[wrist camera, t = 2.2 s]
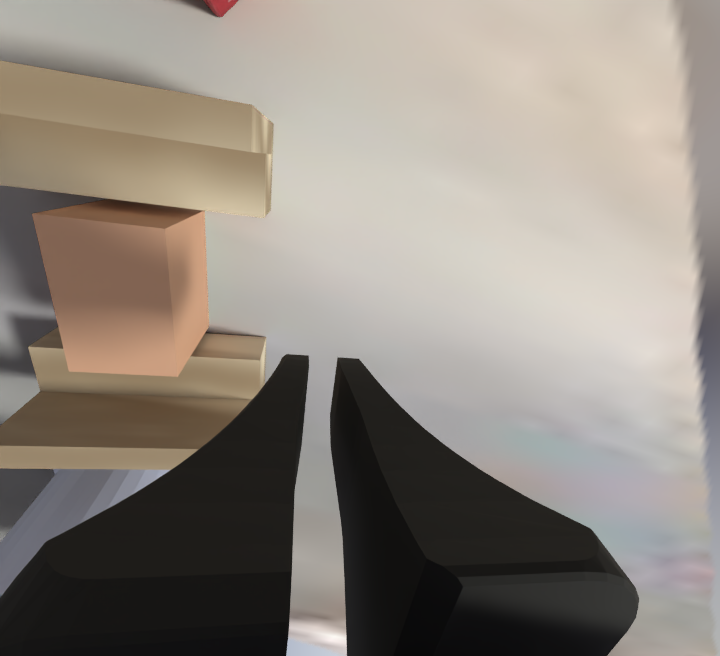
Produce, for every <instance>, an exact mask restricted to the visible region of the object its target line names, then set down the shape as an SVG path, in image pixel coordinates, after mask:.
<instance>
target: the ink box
mask: <svg viewBox="0 0 720 656" xmlns="http://www.w3.org/2000/svg"><path fill="white" fill-rule="evenodd" d="M237 1H238V0H204V2H205V3H206V4H207V6H208V7H209V8H210V9H211V10H212V12H213V13H214V14H215V15H216V16H217V17H223V15H224V14H225V13H226V12H227V11H228V10H229V9H230V8H232V7H233V6H234V5H235V4H236V2H237Z"/></svg>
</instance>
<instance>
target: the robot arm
mask: <svg viewBox="0 0 720 656" xmlns="http://www.w3.org/2000/svg"><path fill="white" fill-rule="evenodd" d="M308 370H309V357H308V356H305V355H290V354H286V355H285V356H284V357H282V359H281V361H280V363H279V365H278V367H277V368H276V370H275V371H274V373H273V374H272V376H271V377H270V378H269V380H268V381H267V382H266V383H265V385H264V386H263V387H262V389H261V390H260V391H259V392H258V394H257V395H256V396H255V397H254V398H253V399H252V400H251V401H250V402H249V404H248V405H247V406H246V407H245V408H244V409H243V410H242V411H241V412H240V413H239V414H238V415H237V416H236V417H235V418H234V419H233V420H232V421H231V422H230V423H229V424H228V425H227V426H226V427H225V428H224V429H222V430H221V431H220V432H219V433H218V434H217V435H216V436H215V437H213V438H212V439H211V440H210V441H209V442H207V443H206V444H205V445H203V446H202V447H201V448H200V449H198V450H197V451H196V452H195V453H193V454H192V455H191V456H190V457H188V458H187V459H185V460H184V461H183V462H181V463H180V464H179V465H177V466H176V467H174V468H173V469H172V470H128V469H53V471H54V474H55V476H54V477H53V478H52V479H51V480H50V482H49V483H48V484H47V485H46V487H45V488H44V489H43V490H42V491H41V493H40V494H39V495H38V496H37V498H36V499H35V500H34V501H33V503H32V504H31V505H30V506H29V507H28V509H27V510H26V511H25V512H24V514H23V515H22V516H21V517H20V518H19V520H18V521H17V522H16V523H15V525H14V526H13V527H12V528H11V529H10V531H9V532H8V533H7V534H6V536H5V537H4V538H3V539H2V540H1V542H0V656H286V651H287V641H288V631H289V614H290V595H291V576H292V545H293V517H294V490H295V484H296V477H297V471H298V464H299V458H300V451H301V445H302V434H303V423H304V413H305V402H306V391H307V381H308ZM330 436H331V452H332V460H333V467H334V474H335V481H336V488H337V496H338V503H339V510H340V517H341V526H342V536H343V555H344V577H345V604H346V632H347V656H607V655H608V654H609V653H610V651H611V650H612V649H613V648H614V646H615V645H616V644H617V643H618V642H619V640H620V639H621V638H622V637H623V636H624V634H625V633H626V632H627V631H628V629H629V628H630V626H631V625H632V623H633V621H634V620H635V618H636V614H637V609H638V603H639V597H638V594H637V591H636V588H635V586H634V585H633V584H632V582H631V581H630V580H629V578H628V577H627V576H626V574H625V573H624V572H623V570H622V569H621V568H620V566H619V565H618V564H617V562H616V561H615V560H614V558H613V557H612V556H611V554H610V553H609V552H608V550H607V549H606V548H605V546H604V545H603V544H602V542H601V541H600V540H599V538H598V537H597V536H596V535H595V533H594V532H593V531H592V530H591V529H590V528H588V527H586V526H584V525H582V524H580V523H578V522H576V521H574V520H572V519H570V518H568V517H566V516H564V515H562V514H560V513H558V512H556V511H554V510H552V509H549V508H547V507H545V506H543V505H541V504H539V503H537V502H535V501H533V500H531V499H530V498H528V497H526V496H524V495H522V494H521V493H519V492H517V491H515V490H514V489H512V488H510V487H508V486H506V485H505V484H503V483H501V482H499V481H498V480H496V479H494V478H493V477H491V476H490V475H488V474H486V473H485V472H483V471H482V470H480V469H478V468H477V467H475V466H474V465H472V464H471V463H470V462H468V461H467V460H465V459H464V458H462V457H461V456H459V455H458V454H456V453H455V452H454V451H452V450H451V449H449V448H448V447H447V446H445V445H444V444H443V443H441V442H440V441H439V440H438V439H437V438H435V437H434V436H433V435H432V434H430V433H429V432H428V431H427V430H425V429H424V428H423V427H422V426H421V425H420V424H418V423H417V422H416V421H415V420H414V419H413V418H412V417H411V416H410V415H409V414H408V413H407V412H406V411H405V410H404V409H403V408H401V407H400V406H399V404H398V403H397V402H396V401H395V400H394V399H393V398H392V397H391V396H390V395H389V394H388V393H387V392H386V391H385V390H384V388H383V387H382V386H381V385H380V384H379V383H378V381H377V380H376V379H375V378H374V377H373V375H372V374H371V373H370V372H369V371H368V369H367V368H366V367H365V366H364V364H363V363H362V362H361V361H360V360H359V359H353V358H338V360H337V367H336V375H335V382H334V390H333V397H332V405H331V413H330Z"/></svg>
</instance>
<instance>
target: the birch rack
mask: <svg viewBox="0 0 720 656" xmlns="http://www.w3.org/2000/svg"><path fill="white" fill-rule="evenodd" d="M272 151H273V123H272V122H271V121H270V120H268V119H267V118H266V117H265V116H264V115H263V114H262V113H261V112H259V111H258V110H257V109H256V108H255V107H254V106H253V105H250V104H244V103H238V102H233V101H227V100H221V99H216V98H210V97H204V96H199V95H193V94H187V93H182V92H176V91H170V90H165V89H159V88H153V87H148V86H142V85H136V84H130V83H125V82H119V81H113V80H108V79H102V78H96V77H91V76H85V75H79V74H74V73H68V72H62V71H57V70H51V69H45V68H40V67H34V66H28V65H23V64H17V63H11V62H6V61H0V185H3V186H11V187H19V188H27V189H35V190H43V191H51V192H59V193H67V194H75V195H83V196H91V197H99V198H107V199H115V200H123V201H131V202H139V203H147V204H155V205H163V206H171V207H179V208H187V209H195V210H203V211H211V212H219V213H227V214H235V215H243V216H251V217H259V218H264V217H265V216H266V215H267V214H268V213H269V211H270V209H271V180H272ZM28 349H29V352H30V356H31V359H32V363H33V366H34V370H35V373H36V377H37V381H38V384H39V388H40V392H39V393H38V394H37V395H36V396H35V397H33V398H32V399H31V400H30V401H29V402H28V403H26V404H25V405H24V406H23V407H22V408H20V409H19V410H18V411H17V412H16V413H15V414H13V415H12V416H11V417H10V418H9V419H8V420H6V421H5V422H4V423H3V424H2V425H1V426H0V468H9V469H128V470H172V469H173V468H174V467H176V466H177V465H179V464H180V463H181V462H183V461H184V460H185V459H187V458H188V457H190V456H191V455H192V454H193V453H195V452H196V451H197V450H198V449H200V448H201V447H202V446H203V445H205V444H206V443H207V442H209V441H210V440H211V439H212V438H213V437H215V436H216V435H217V434H218V433H219V432H220V431H221V430H222V429H224V428H225V427H226V426H227V425H228V424H229V423H230V422H231V421H232V420H233V419H234V418H235V417H236V416H237V415H238V414H239V413H240V412H241V411H242V410H243V409H244V408H245V407H246V406H247V405H248V404H249V402H250V401H251V400H252V399H253V398H254V397H255V396H256V395H257V394H258V392H259V391H260V390H261V389H262V387H263V386H264V385H265V356H266V337H253V336H239V335H225V334H210V333H205V334H204V335H203V337H202V339H201V340H200V342H199V343H198V345H197V347H196V348H195V350H194V351H193V353H192V355H191V356H190V358H189V359H188V361H187V363H186V364H185V366H184V368H183V369H182V371H181V372H180V374H179V376H178V377H171V376H150V375H130V374H110V373H89V372H69V370H68V366H67V361H66V357H65V353H64V349H63V344H62V340H61V336H60V332H59V327H57V328H56V329H54V330H53V331H51V332H50V333H48V334H46V335H45V336H43V337H42V338H40V339H39V340H37V341H36V342H34V343H33V344H31V345H30V346H28Z"/></svg>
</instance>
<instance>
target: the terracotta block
mask: <svg viewBox="0 0 720 656" xmlns="http://www.w3.org/2000/svg"><path fill="white" fill-rule="evenodd" d="M32 216H33V221H34V225H35V229H36V233H37V238H38V242H39V246H40V250H41V255H42V259H43V263H44V268H45V272H46V276H47V280H48V285H49V289H50V293H51V297H52V302H53V306H54V310H55V315H56V319H57V323H58V327H59V332H60V336H61V340H62V344H63V349H64V353H65V357H66V361H67V366H68V370H69V372H89V373H110V374H130V375H150V376H171V377H178V376H179V374H180V372H181V371H182V369H183V368H184V366H185V364H186V363H187V361H188V359H189V358H190V356H191V355H192V353H193V351H194V350H195V348H196V347H197V345H198V343H199V342H200V340H201V339H202V337H203V335H204V334H205V332H206V331H207V329H208V327H209V312H208V287H207V262H206V237H205V213H204V211H203V210H195V209H187V208H179V207H171V206H163V205H155V204H147V203H139V202H131V201H123V200H115V199H106V200H100V201H95V202H90V203H85V204H80V205H74V206H69V207H64V208H59V209H53V210H48V211H43V212H38V213H33V214H32Z"/></svg>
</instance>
